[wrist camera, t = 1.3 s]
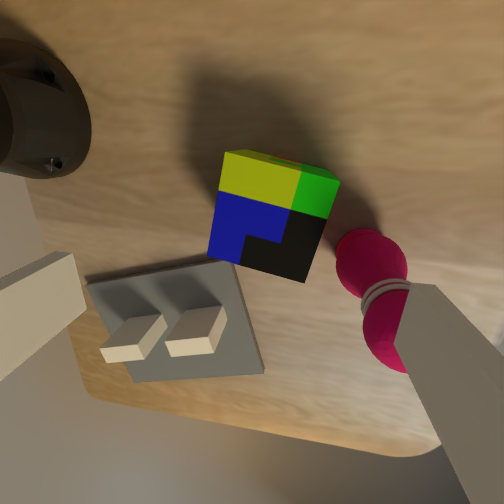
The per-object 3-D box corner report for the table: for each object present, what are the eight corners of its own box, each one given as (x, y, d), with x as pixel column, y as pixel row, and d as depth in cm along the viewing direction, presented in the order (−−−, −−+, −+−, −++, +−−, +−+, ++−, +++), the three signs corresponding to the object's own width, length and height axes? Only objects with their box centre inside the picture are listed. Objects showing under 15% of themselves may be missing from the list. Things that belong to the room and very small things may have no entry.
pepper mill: (404, 251, 34) (532, 381, 15) (358, 287, 36) (419, 434, 18) (364, 212, 33) (448, 301, 14) (320, 252, 35) (342, 369, 17)
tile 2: (135, 331, 44) (107, 363, 38) (128, 317, 43) (99, 348, 37) (168, 327, 43) (144, 360, 36) (162, 313, 42) (137, 344, 35)
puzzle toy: (230, 227, 36) (206, 255, 27) (246, 149, 32) (225, 151, 23) (302, 247, 36) (304, 283, 26) (328, 170, 32) (340, 181, 22)
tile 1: (191, 324, 42) (171, 357, 35) (185, 310, 41) (164, 341, 34) (227, 320, 40) (214, 354, 34) (222, 305, 39) (207, 336, 33)
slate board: (138, 377, 50) (134, 382, 49) (90, 281, 43) (84, 285, 42) (264, 367, 44) (263, 373, 43) (231, 256, 38) (229, 259, 36)
